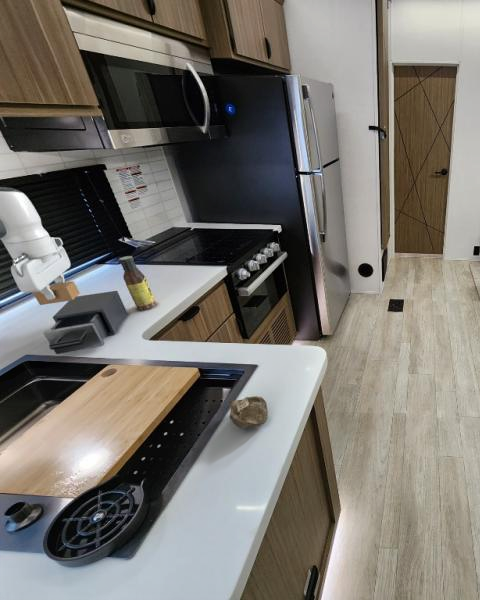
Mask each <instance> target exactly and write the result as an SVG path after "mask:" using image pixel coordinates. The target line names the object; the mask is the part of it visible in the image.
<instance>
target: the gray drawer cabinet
mask: <svg viewBox="0 0 480 600" xmlns="http://www.w3.org/2000/svg"><path fill="white" fill-rule="evenodd" d="M95 312H101V313H102V315H103V317H104V319H105V321H106V323H107V325H108V327H109V329H110V331H109V332H108V334H107V335H106V337H107V336H112V335H116V333H117V332H118V330H119V328H120V327H121V325H122V324H123V322H124V321H125V319H126V318H127V316H128V311H127V308H126V307H125V304H124V302H123V300H122V298H121V296H120V294H119V292H118V290H112V291H105V292H104V291H103V292H97V293H91V294H84V295H78V296H77V297H76V298H75V299H74V300H70V301H66V303H65V304H64V305H63V306H61V308H60V309H59V310H58V311H57V312H56V313H55V314H54V315H53V316H52V319H53V321H54V322H55V324H56V323H57V322H58V320H59V319H60V318H64V317H71V316H77V315H83V314H89V313H95Z"/></svg>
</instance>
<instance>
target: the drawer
mask: <svg viewBox="0 0 480 600" xmlns="http://www.w3.org/2000/svg"><path fill="white" fill-rule="evenodd" d="M109 331H110V329H109V327H108V325H107V323H106V321H105V319H104V317H103V315H102V313H101V312H95V313H89V314H83V315H77V316H71V317H64V318H60V319H59V320H58V322H57V323H56V322H55V323H54V325H52V327H50V330H49V329H47V330H44V331H43V332H42V334H43V335H44V337H45V339H46V341H47V342H48V344H49V346H48V347H49V350H53V351H54V353H55V355H61V354H66V353H72V352H77V351H84V350H88V349H93V348H98V347H103V346H104V345H105V341H104V340H105V338H106V337H107V336H108V335H107V334H108V332H109ZM106 335H107V336H106Z"/></svg>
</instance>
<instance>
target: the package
mask: <svg viewBox="0 0 480 600" xmlns="http://www.w3.org/2000/svg"><path fill="white" fill-rule="evenodd" d="M49 286H50V288H49V289H50V290H51V291H52V292H53V291H55V293H56V295H57V297H56V298H54V299H51V300H48V299H46V297H45V295H44V294H42V293H41V292H33V293H32V294H33V296H34V298H35V299H36V301H37V302H38V304H39V305H40V306H43V305H49V304H50V305H51V304H57V303H63V302H68V301H70V300H74V299H75V298H76V297H77V296H80V294H81V293H80V291H79V289H78V287H77V285H76V283H75V281H74V280H72V281H66V282H64V283H58V284H56V283H50V284H49Z"/></svg>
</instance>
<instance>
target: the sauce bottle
mask: <svg viewBox="0 0 480 600" xmlns="http://www.w3.org/2000/svg"><path fill="white" fill-rule="evenodd" d="M118 262H119V264H120V265H121V267H122V269H123V271H124V272H123V276H122V277H123V281H124V282H125V286H126V288H127V290H128V292H129V294H130V296H131V299H132V301H133V303H134V305H135V306H136V308H137V310H140V311H144V310H148V309H152V308H154V307H155V306H156V299H155V297H154V295H153V292H152V290H151V287H150V285H149V283H148V280H147V278H146V276H145V274H144V273H143V272H142V271H141V270H140V269H139V268H138V267H137V265H136V263H135V259H134V257H133V255H127V256H123V257H119V258H118Z"/></svg>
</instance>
